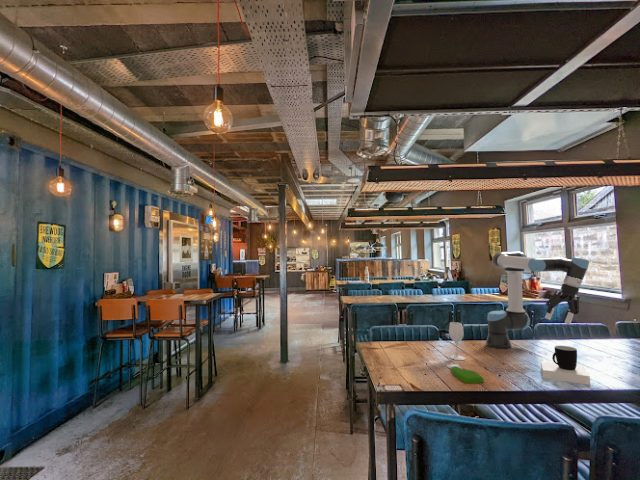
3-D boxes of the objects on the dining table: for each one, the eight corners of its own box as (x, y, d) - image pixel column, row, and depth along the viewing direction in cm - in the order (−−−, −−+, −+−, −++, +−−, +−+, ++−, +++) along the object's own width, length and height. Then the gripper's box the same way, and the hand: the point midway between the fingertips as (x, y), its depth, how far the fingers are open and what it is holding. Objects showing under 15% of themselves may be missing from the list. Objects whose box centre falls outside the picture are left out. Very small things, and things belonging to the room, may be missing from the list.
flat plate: (543, 378, 157) (542, 369, 157) (541, 368, 171) (540, 361, 171) (590, 385, 148) (589, 376, 148) (584, 374, 161) (583, 366, 161)
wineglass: (447, 356, 195) (445, 322, 197) (460, 355, 196) (458, 321, 197) (454, 360, 186) (452, 324, 188) (468, 360, 187) (466, 324, 189)
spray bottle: (464, 384, 152) (442, 368, 176) (486, 383, 152) (461, 367, 177) (463, 378, 152) (442, 362, 177) (485, 377, 153) (461, 362, 177)
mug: (566, 364, 164) (565, 345, 165) (583, 370, 155) (581, 349, 156) (546, 366, 162) (544, 346, 163) (561, 372, 154) (560, 351, 154)
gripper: (559, 282, 166) (545, 319, 168) (595, 292, 170) (581, 328, 173) (546, 278, 173) (533, 314, 175) (582, 288, 178) (568, 322, 180)
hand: (557, 321), depth 174 cm, fingers open, 13 cm apart
